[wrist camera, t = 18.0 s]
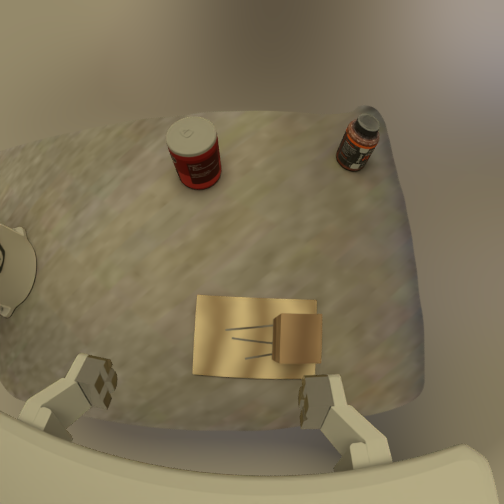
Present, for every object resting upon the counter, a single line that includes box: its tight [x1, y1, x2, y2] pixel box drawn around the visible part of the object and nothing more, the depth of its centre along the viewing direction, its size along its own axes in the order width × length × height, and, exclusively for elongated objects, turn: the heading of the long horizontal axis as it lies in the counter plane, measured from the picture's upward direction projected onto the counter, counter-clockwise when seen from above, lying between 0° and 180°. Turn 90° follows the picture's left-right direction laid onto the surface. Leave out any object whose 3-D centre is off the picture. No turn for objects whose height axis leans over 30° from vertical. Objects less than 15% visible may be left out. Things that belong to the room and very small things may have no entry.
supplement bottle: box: [337, 114, 380, 171], centre depth 48 cm, size 6×6×11 cm
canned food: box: [166, 116, 221, 189], centre depth 47 cm, size 8×8×11 cm
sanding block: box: [272, 313, 322, 364], centre depth 38 cm, size 5×6×9 cm
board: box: [193, 295, 317, 379], centre depth 43 cm, size 18×12×1 cm, turn 88°
